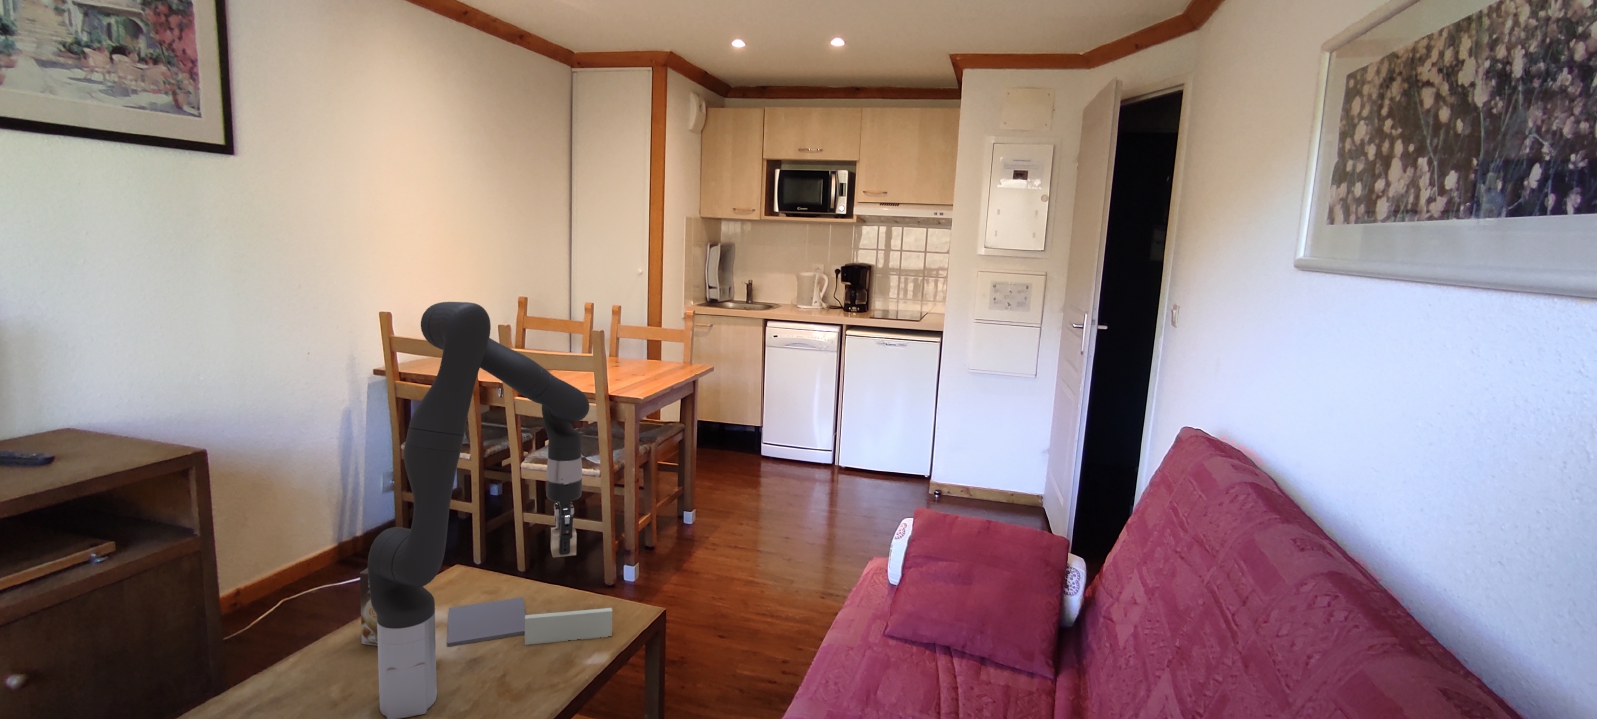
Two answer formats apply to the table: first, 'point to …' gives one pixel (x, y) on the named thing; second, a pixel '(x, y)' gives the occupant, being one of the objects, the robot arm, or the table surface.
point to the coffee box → (367, 612)
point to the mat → (486, 621)
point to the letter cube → (556, 542)
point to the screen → (568, 626)
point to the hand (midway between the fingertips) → (563, 548)
